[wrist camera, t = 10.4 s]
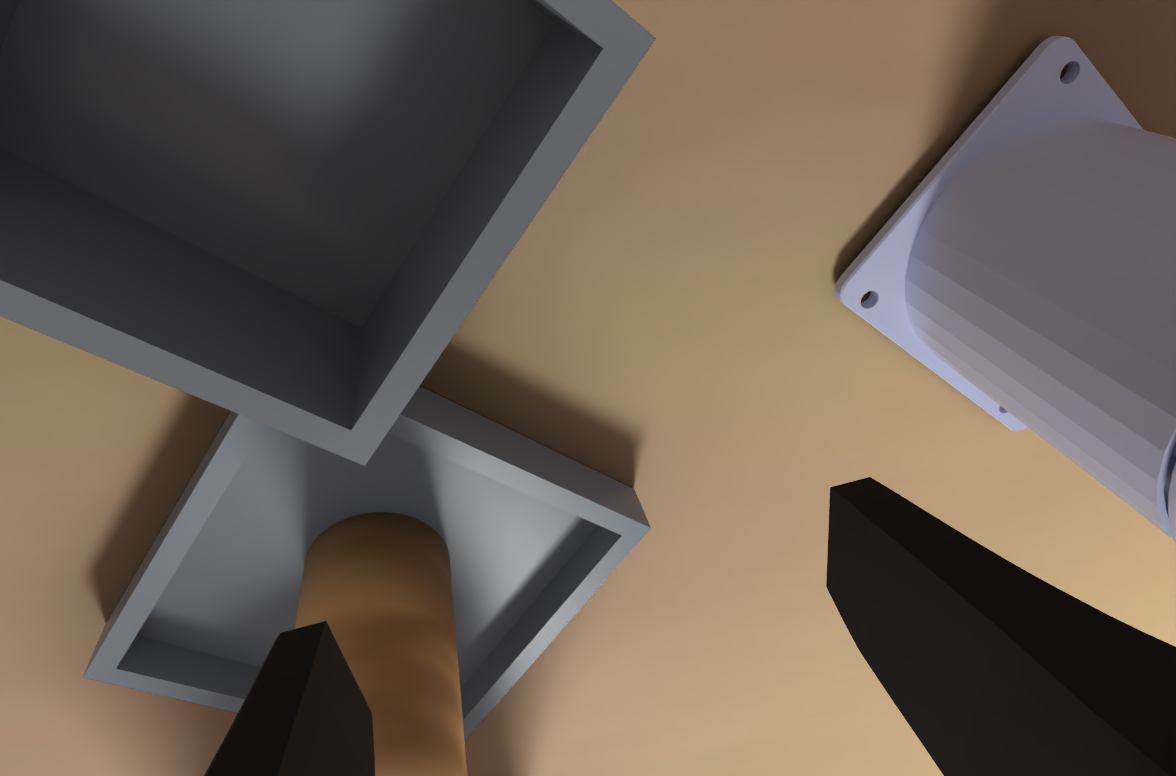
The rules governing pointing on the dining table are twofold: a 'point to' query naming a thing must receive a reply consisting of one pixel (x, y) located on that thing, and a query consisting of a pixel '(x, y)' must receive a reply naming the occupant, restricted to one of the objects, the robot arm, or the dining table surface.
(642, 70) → the dining table surface
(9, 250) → the grey square box
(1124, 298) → the robot arm
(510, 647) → the tray
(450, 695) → the dowel
